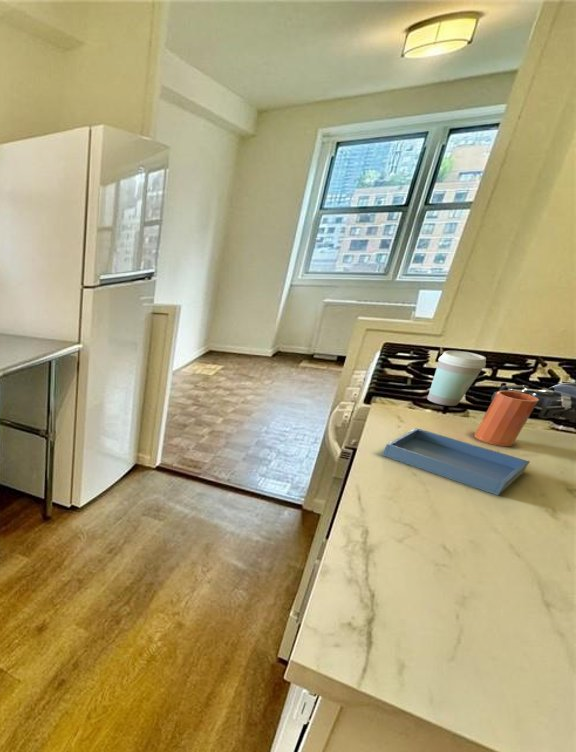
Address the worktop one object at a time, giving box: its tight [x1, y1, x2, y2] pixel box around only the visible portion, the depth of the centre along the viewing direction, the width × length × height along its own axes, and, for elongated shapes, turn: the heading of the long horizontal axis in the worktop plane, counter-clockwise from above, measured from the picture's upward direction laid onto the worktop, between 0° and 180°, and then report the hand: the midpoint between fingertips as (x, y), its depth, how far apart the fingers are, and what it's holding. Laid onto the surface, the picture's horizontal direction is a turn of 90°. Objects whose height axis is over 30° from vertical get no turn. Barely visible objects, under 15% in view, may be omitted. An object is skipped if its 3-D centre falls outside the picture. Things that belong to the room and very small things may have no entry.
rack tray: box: [381, 427, 530, 496], centre depth 92 cm, size 17×14×2 cm
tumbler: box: [473, 390, 539, 447], centre depth 100 cm, size 6×6×10 cm
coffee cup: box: [426, 350, 487, 407], centre depth 118 cm, size 8×9×12 cm
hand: (517, 404), depth 98 cm, fingers open, 8 cm apart
